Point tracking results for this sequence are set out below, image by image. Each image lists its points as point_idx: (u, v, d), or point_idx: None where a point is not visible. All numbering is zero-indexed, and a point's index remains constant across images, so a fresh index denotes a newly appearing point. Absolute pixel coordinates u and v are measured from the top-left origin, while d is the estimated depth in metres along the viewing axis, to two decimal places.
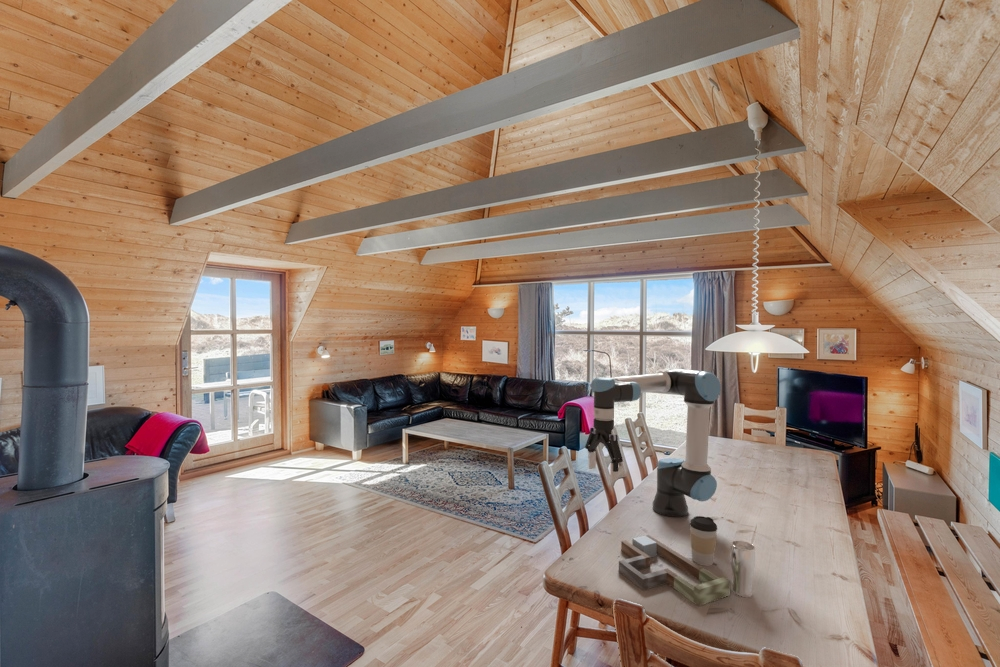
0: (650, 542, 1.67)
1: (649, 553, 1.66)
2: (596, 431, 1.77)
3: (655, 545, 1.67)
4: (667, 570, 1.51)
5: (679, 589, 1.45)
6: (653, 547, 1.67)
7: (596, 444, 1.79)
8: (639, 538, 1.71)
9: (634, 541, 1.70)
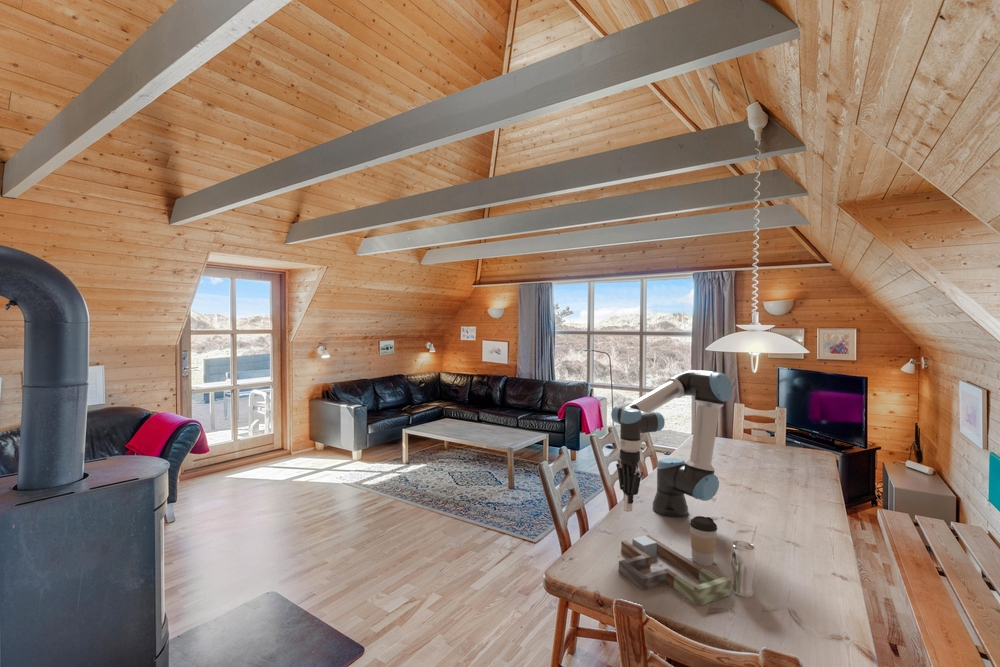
0: (650, 542, 1.67)
1: (649, 553, 1.66)
2: (621, 461, 1.79)
3: (655, 545, 1.67)
4: (667, 570, 1.51)
5: (679, 589, 1.45)
6: (653, 547, 1.67)
7: (628, 479, 1.77)
8: (639, 538, 1.70)
9: (634, 541, 1.69)
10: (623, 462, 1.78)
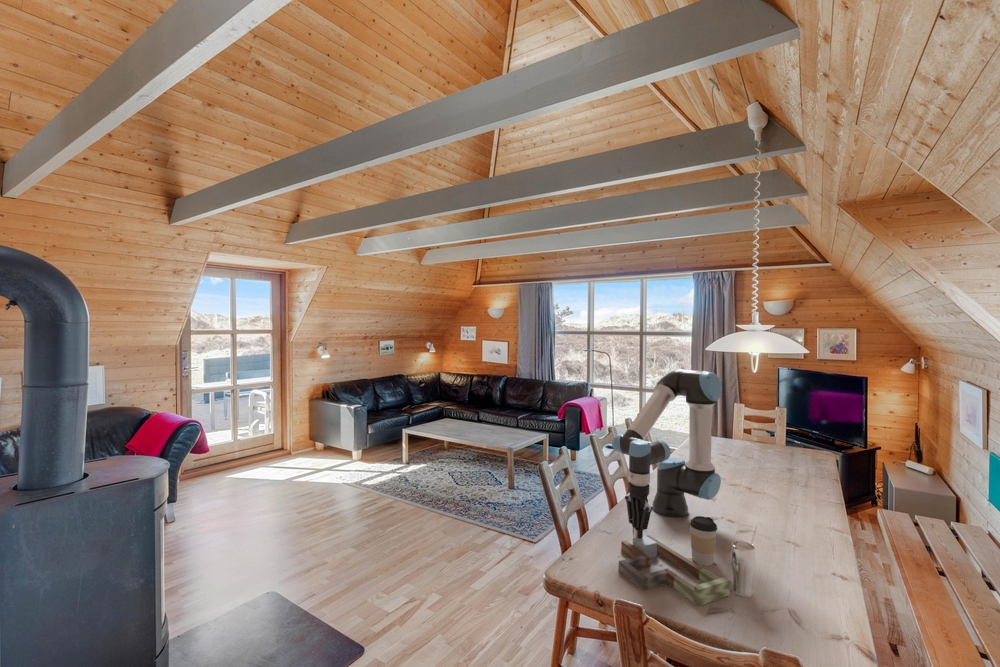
0: (650, 543, 1.67)
1: (650, 553, 1.66)
2: (630, 494, 1.74)
3: (655, 545, 1.67)
4: (667, 570, 1.51)
5: (679, 589, 1.45)
6: (653, 547, 1.67)
7: None
8: None
9: (634, 541, 1.69)
10: (632, 495, 1.73)
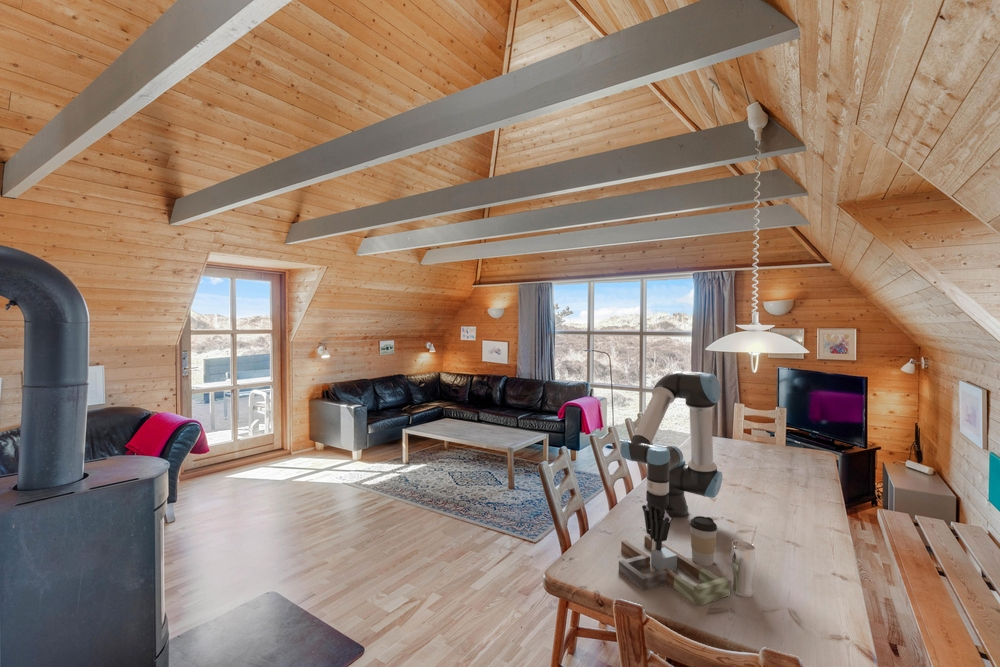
0: (670, 555, 1.58)
1: (669, 566, 1.57)
2: (648, 504, 1.65)
3: (676, 558, 1.58)
4: (667, 570, 1.51)
5: (679, 589, 1.45)
6: (673, 560, 1.58)
7: (655, 523, 1.64)
8: (658, 550, 1.62)
9: (653, 553, 1.61)
10: (650, 505, 1.64)
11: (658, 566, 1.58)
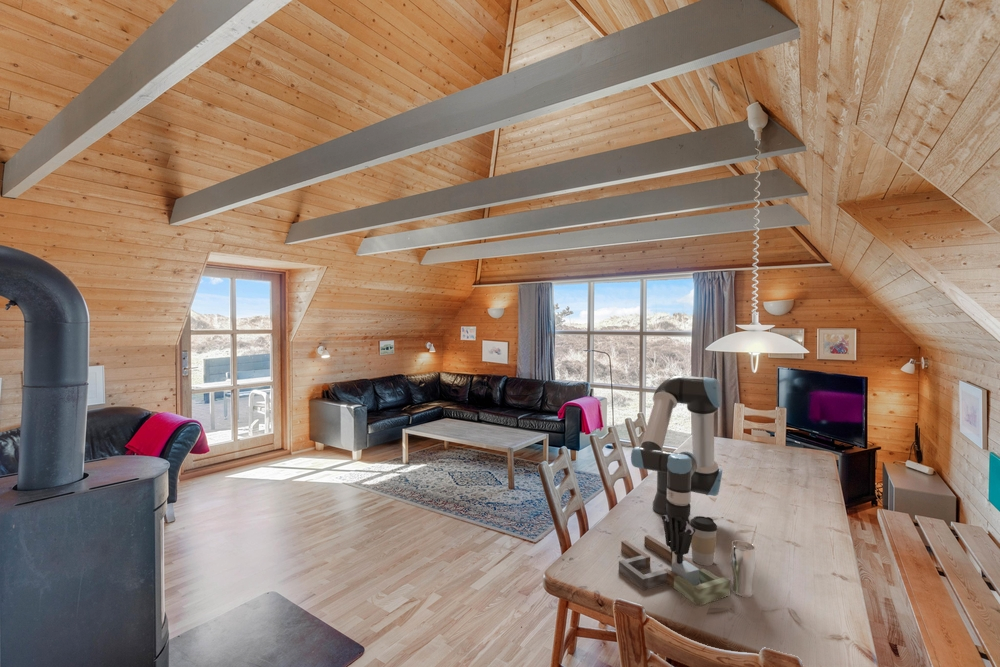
0: (691, 569, 1.49)
1: (691, 581, 1.48)
2: (668, 514, 1.56)
3: (698, 572, 1.49)
4: (667, 570, 1.51)
5: (679, 589, 1.45)
6: (695, 574, 1.49)
7: None
8: (679, 564, 1.53)
9: (673, 567, 1.52)
10: (670, 515, 1.56)
11: None
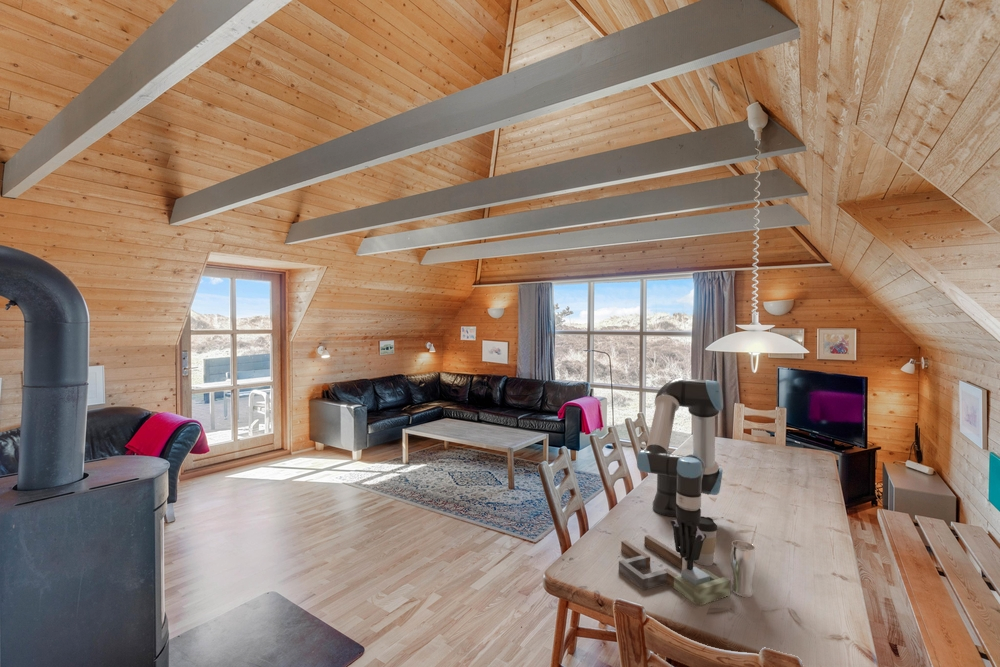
0: (702, 576, 1.45)
1: None
2: (678, 519, 1.53)
3: (708, 579, 1.45)
4: (667, 570, 1.51)
5: (679, 589, 1.45)
6: (706, 581, 1.45)
7: (686, 541, 1.51)
8: (689, 570, 1.49)
9: (683, 574, 1.48)
10: (680, 520, 1.52)
11: None
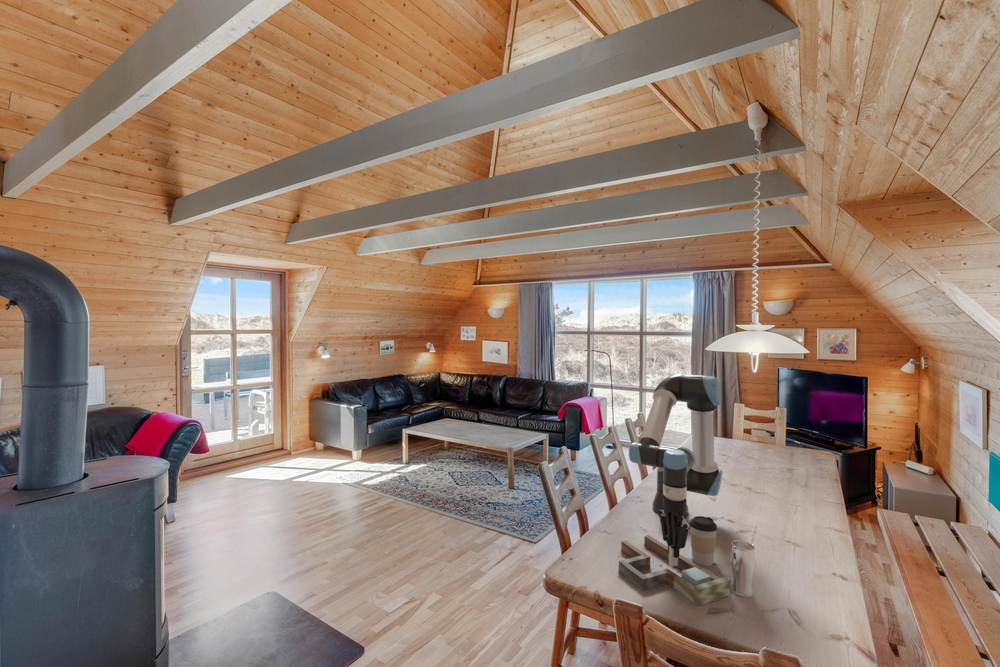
0: (702, 576, 1.45)
1: None
2: (665, 509, 1.58)
3: (709, 579, 1.45)
4: (667, 570, 1.51)
5: (679, 589, 1.45)
6: None
7: (672, 530, 1.57)
8: (689, 571, 1.49)
9: (684, 574, 1.48)
10: (667, 510, 1.57)
11: None
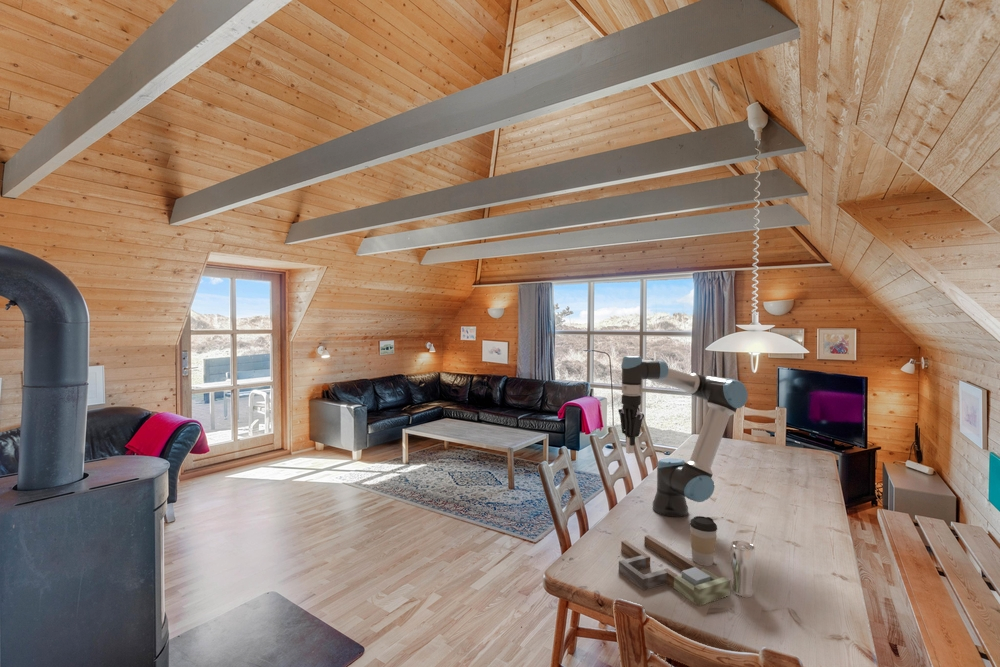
0: (703, 576, 1.45)
1: None
2: (623, 406, 1.87)
3: (709, 579, 1.45)
4: (667, 570, 1.51)
5: (679, 589, 1.45)
6: None
7: None
8: (689, 571, 1.49)
9: (684, 574, 1.48)
10: (625, 407, 1.86)
11: None
